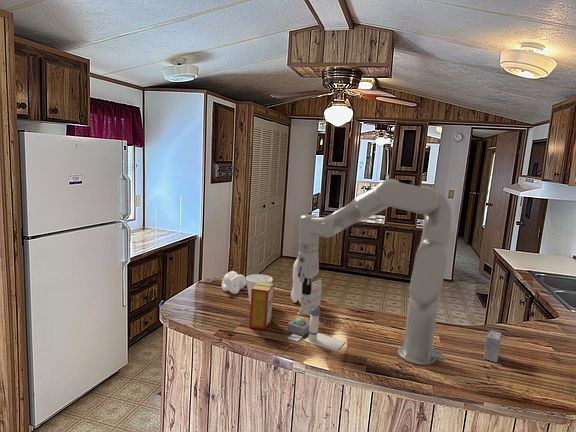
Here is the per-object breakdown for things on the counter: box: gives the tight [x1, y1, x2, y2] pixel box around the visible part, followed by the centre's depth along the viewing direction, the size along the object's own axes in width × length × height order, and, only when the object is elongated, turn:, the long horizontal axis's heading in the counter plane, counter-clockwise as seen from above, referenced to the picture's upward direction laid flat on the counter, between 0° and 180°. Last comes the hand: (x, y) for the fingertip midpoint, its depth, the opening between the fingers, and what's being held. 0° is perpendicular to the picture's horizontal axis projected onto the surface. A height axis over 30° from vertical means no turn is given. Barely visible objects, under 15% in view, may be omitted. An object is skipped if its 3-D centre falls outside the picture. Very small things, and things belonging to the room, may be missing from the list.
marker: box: [307, 307, 321, 342], centre depth 146 cm, size 3×3×12 cm
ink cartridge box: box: [299, 279, 323, 317], centre depth 173 cm, size 9×5×15 cm, turn 143°
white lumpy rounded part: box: [221, 270, 247, 295], centre depth 192 cm, size 11×12×9 cm
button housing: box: [286, 317, 310, 337], centre depth 154 cm, size 7×7×3 cm
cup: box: [245, 273, 274, 306], centre depth 176 cm, size 12×12×12 cm
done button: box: [295, 317, 305, 326], centre depth 154 cm, size 3×3×4 cm
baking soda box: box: [248, 282, 275, 331], centre depth 156 cm, size 10×6×16 cm
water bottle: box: [290, 252, 302, 304], centre depth 183 cm, size 7×7×25 cm
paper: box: [303, 332, 347, 352], centre depth 146 cm, size 13×9×1 cm
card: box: [287, 333, 303, 343], centre depth 147 cm, size 4×4×1 cm
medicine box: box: [483, 329, 503, 363], centre depth 144 cm, size 8×4×9 cm, turn 148°
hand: (306, 293), depth 153 cm, fingers closed
